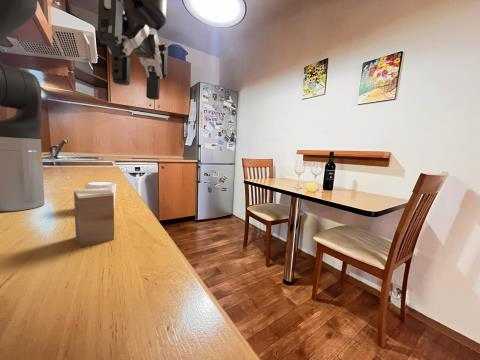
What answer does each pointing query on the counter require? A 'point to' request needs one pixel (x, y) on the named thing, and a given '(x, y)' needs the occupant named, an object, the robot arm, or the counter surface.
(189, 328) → the counter surface
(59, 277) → the counter surface
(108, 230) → the greyish brown block
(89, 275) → the counter surface
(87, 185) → the shot glass
